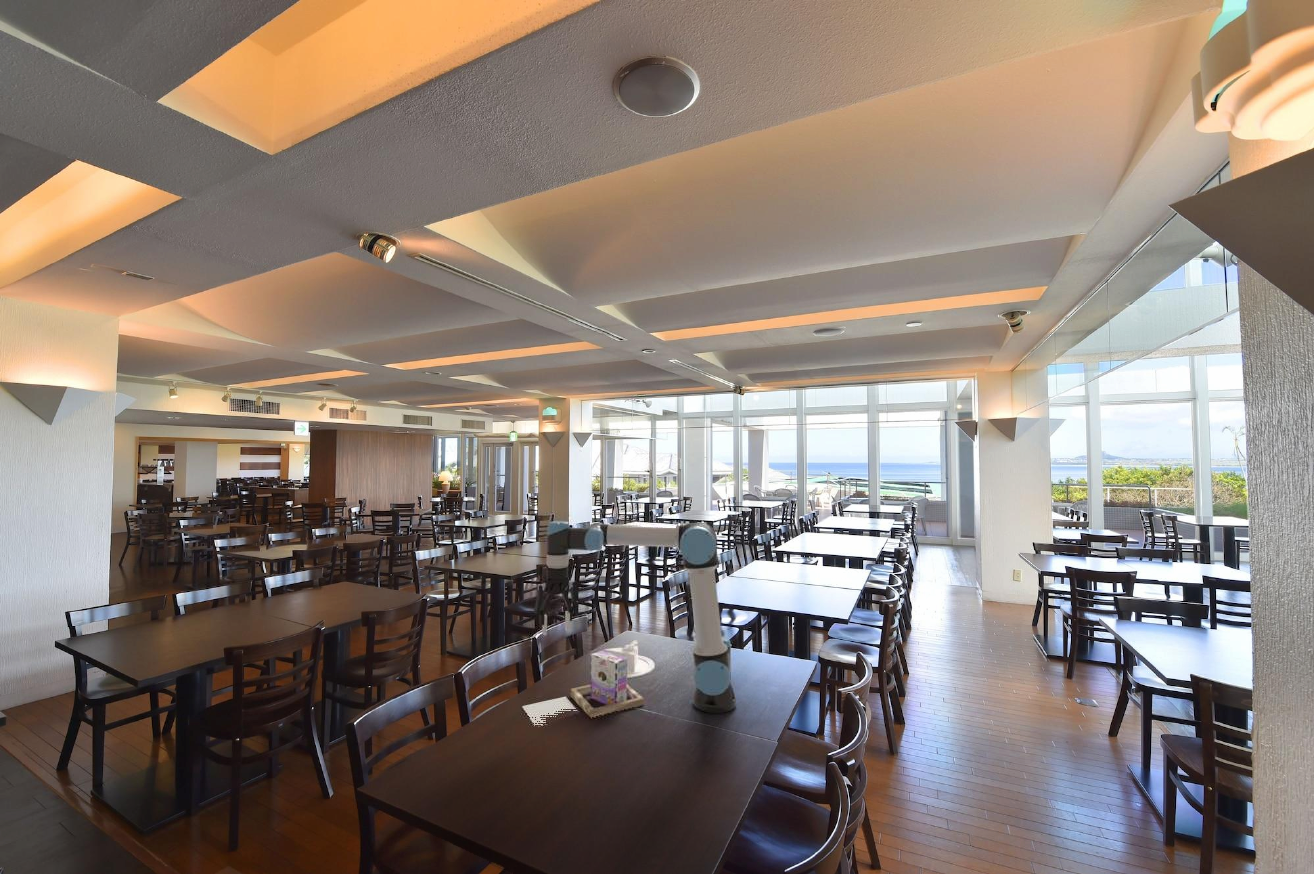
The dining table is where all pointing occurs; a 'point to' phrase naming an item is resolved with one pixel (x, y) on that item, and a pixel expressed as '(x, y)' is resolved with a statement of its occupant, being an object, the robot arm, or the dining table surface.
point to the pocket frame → (593, 712)
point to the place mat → (547, 709)
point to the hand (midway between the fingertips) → (555, 632)
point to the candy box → (608, 678)
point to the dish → (633, 660)
